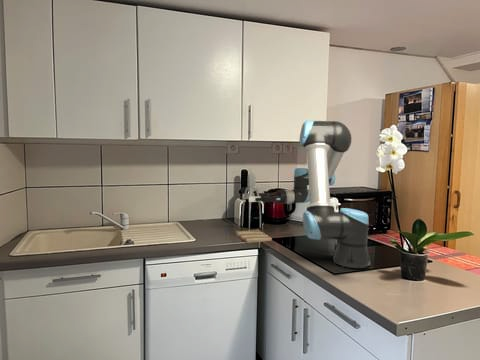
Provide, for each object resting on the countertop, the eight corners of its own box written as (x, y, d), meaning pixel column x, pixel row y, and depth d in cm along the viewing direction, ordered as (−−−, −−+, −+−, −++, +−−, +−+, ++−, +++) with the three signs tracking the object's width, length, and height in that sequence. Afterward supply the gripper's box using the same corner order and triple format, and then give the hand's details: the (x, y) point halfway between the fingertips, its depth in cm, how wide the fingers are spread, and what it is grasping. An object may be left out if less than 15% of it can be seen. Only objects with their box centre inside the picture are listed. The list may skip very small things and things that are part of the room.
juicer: (264, 229, 185) (266, 172, 182) (249, 230, 181) (250, 173, 178) (256, 225, 194) (257, 171, 191) (241, 226, 191) (242, 171, 188)
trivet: (271, 240, 182) (271, 238, 182) (246, 242, 177) (246, 239, 177) (258, 232, 199) (258, 229, 199) (235, 233, 194) (235, 231, 194)
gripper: (293, 206, 183) (253, 208, 175) (275, 200, 202) (238, 201, 195) (294, 192, 182) (253, 193, 174) (276, 187, 202) (239, 188, 194)
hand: (245, 197), depth 184 cm, fingers closed on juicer, 8 cm apart
